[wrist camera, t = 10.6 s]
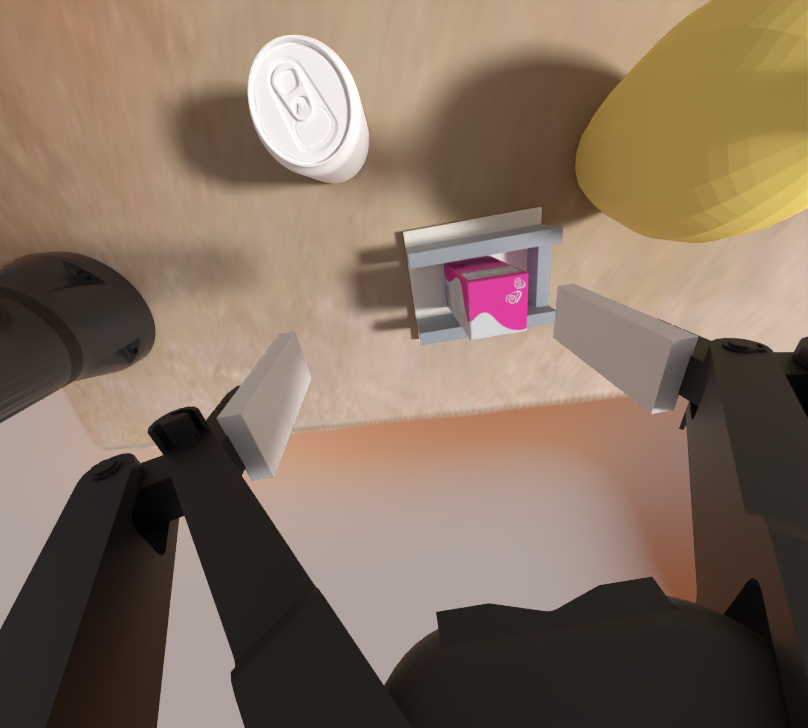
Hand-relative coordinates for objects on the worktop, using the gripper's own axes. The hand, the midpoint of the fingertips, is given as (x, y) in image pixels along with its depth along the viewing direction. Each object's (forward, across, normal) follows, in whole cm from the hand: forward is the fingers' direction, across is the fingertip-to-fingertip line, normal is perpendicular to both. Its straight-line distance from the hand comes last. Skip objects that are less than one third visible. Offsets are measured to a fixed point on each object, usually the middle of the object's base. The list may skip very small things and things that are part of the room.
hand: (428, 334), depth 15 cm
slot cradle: (+25, +9, -4) cm, 27 cm away
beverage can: (+26, -5, +13) cm, 29 cm away
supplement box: (+24, +8, -4) cm, 26 cm away
